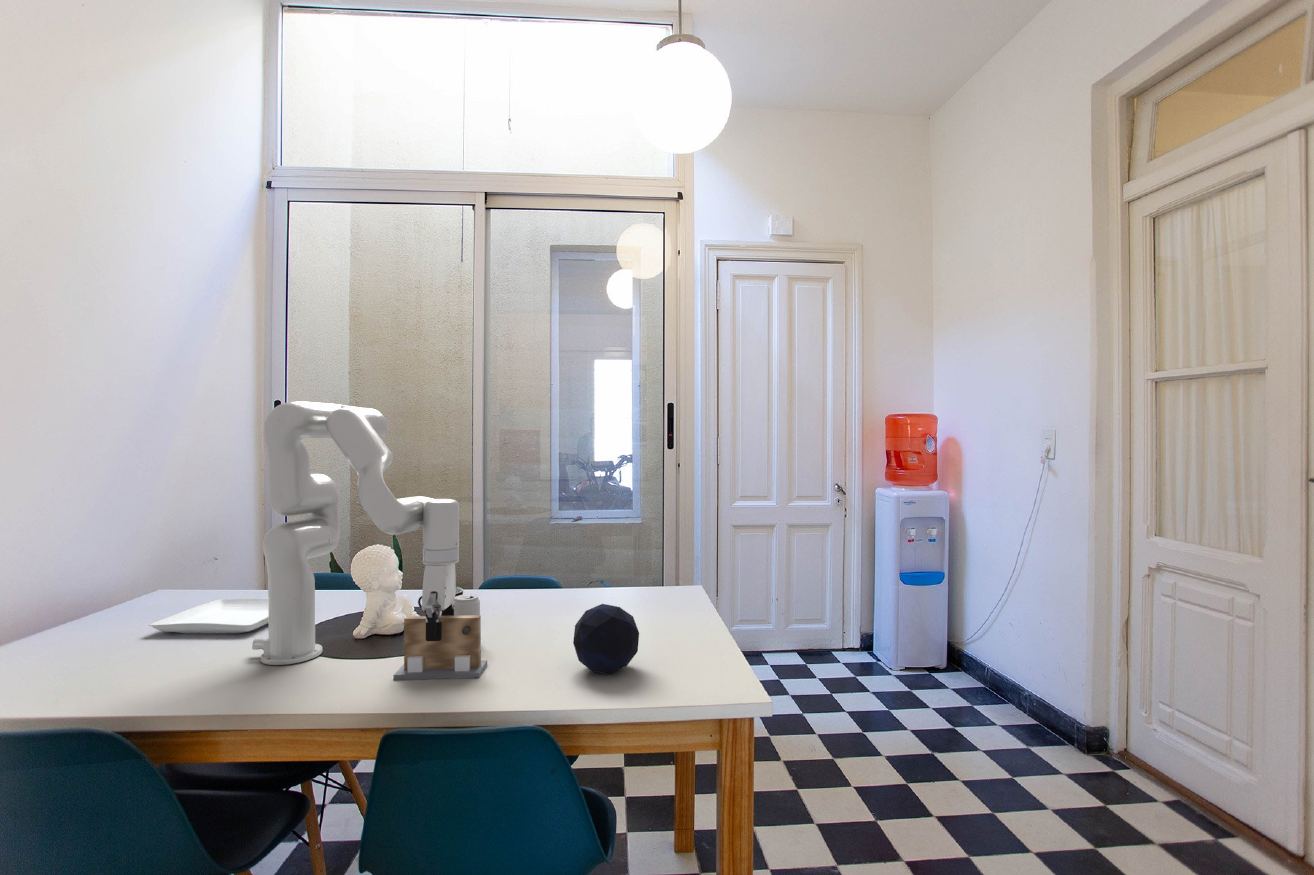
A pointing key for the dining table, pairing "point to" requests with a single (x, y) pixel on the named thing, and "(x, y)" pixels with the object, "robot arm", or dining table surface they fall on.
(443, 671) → the hinge base
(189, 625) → the square plate
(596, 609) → the decorative orb
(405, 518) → the robot arm
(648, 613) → the dining table surface
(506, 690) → the dining table surface
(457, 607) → the beverage can
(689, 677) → the dining table surface
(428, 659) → the door panel
